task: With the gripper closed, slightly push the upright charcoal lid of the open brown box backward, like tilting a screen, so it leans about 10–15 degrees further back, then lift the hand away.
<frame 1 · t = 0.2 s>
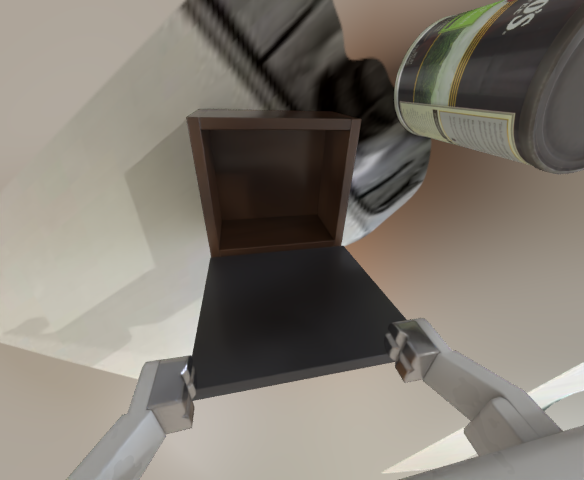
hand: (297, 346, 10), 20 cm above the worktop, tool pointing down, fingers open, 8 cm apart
open brown box: (269, 171, 26), on the worktop
screen lid: (293, 295, 18), point 13 cm above the worktop, hinge at 84.0°
coffee can: (438, 83, 25), on the worktop
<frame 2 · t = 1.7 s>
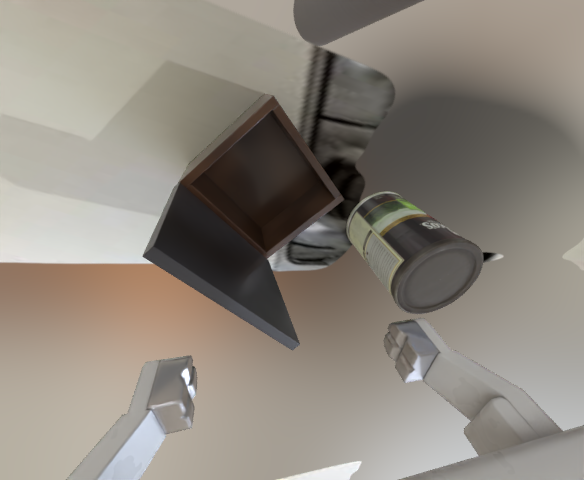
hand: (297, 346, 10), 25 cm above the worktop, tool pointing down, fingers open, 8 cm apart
open brown box: (262, 172, 31), on the worktop
screen lid: (231, 259, 20), point 13 cm above the worktop, hinge at 84.0°
coffee can: (375, 221, 38), on the worktop
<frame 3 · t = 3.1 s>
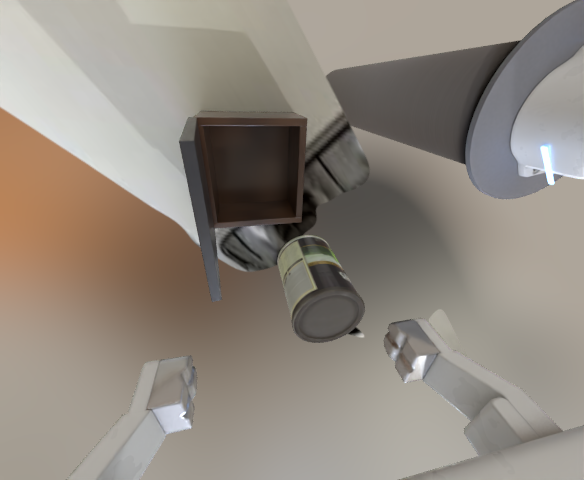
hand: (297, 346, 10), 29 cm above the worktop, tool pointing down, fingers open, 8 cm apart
open brown box: (251, 162, 34), on the worktop
screen lid: (203, 202, 22), point 13 cm above the worktop, hinge at 84.0°
coffee can: (303, 257, 45), on the worktop
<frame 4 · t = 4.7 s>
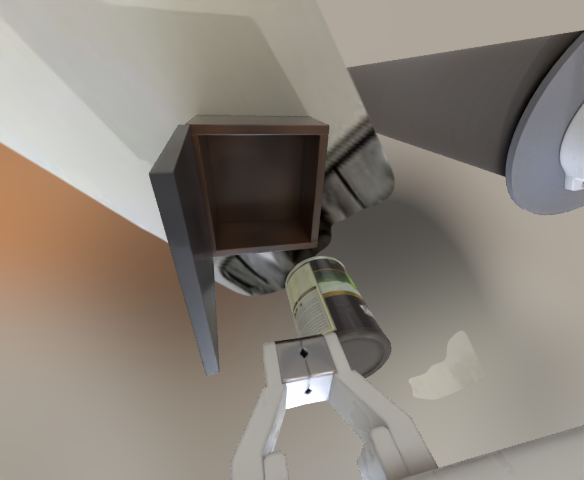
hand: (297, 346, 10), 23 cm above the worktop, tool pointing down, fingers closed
open brown box: (258, 175, 29), on the worktop
screen lid: (197, 237, 17), point 13 cm above the worktop, hinge at 84.0°
coffee can: (315, 280, 40), on the worktop
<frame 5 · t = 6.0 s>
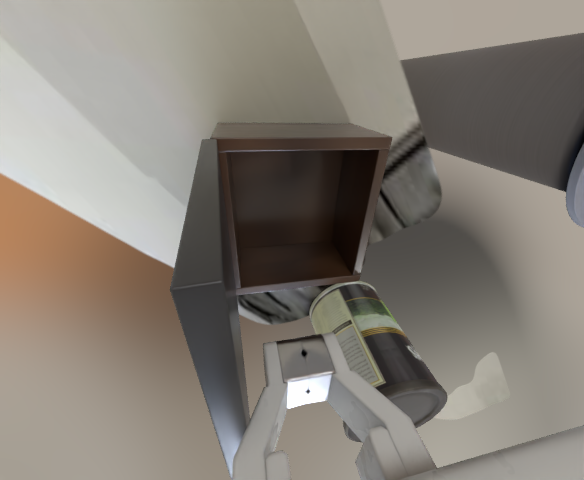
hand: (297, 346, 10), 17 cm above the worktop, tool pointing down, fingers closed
open brown box: (286, 193, 24), on the worktop
screen lid: (226, 297, 12), point 13 cm above the worktop, hinge at 85.9°, touching gripper
coffee can: (342, 305, 35), on the worktop
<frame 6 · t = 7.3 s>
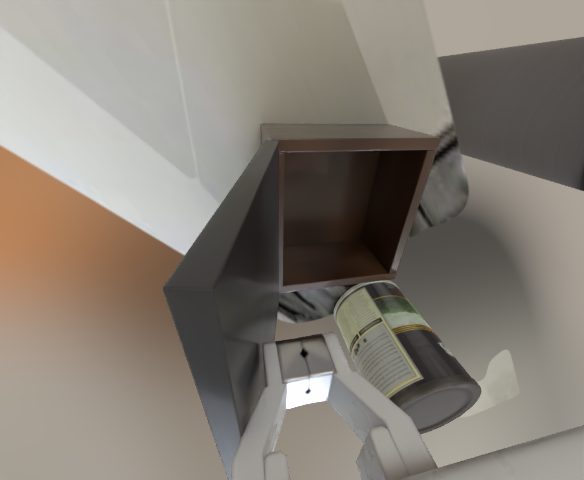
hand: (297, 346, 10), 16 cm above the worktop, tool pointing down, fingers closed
open brown box: (321, 193, 24), on the worktop
screen lid: (261, 296, 12), point 13 cm above the worktop, hinge at 103.5°, touching gripper
coffee can: (365, 304, 35), on the worktop
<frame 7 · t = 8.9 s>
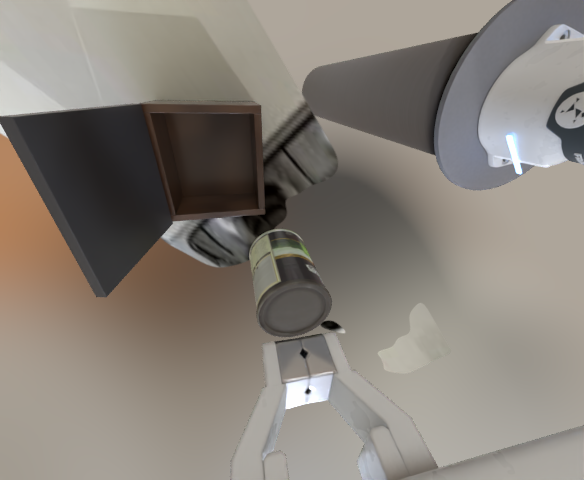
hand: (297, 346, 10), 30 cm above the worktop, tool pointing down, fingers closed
open brown box: (214, 154, 33), on the worktop
screen lid: (120, 191, 21), point 13 cm above the worktop, hinge at 103.5°
coffee can: (276, 252, 44), on the worktop
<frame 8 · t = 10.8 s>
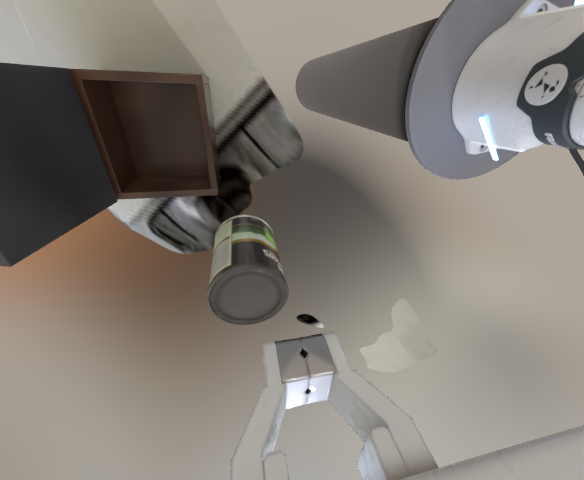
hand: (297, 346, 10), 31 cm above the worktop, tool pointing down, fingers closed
open brown box: (169, 132, 32), on the worktop
screen lid: (37, 158, 20), point 13 cm above the worktop, hinge at 103.5°
coffee can: (244, 239, 43), on the worktop
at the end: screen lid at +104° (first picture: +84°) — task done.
